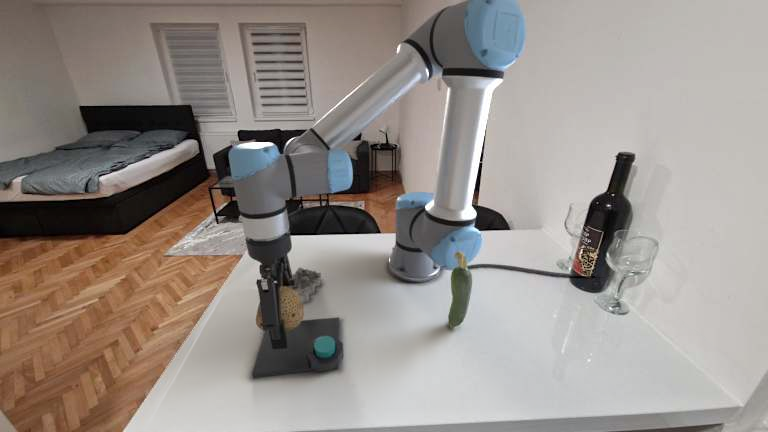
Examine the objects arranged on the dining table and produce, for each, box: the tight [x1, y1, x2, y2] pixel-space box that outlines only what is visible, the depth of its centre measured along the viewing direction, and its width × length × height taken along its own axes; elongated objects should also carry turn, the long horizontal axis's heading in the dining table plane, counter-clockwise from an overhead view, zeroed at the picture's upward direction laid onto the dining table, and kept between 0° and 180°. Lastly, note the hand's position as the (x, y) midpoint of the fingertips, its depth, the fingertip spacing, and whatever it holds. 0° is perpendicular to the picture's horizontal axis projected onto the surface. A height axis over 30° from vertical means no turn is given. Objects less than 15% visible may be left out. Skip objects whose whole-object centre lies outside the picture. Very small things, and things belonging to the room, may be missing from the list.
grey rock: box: [289, 267, 322, 303], centre depth 80 cm, size 11×8×4 cm
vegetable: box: [447, 252, 473, 329], centre depth 64 cm, size 4×4×20 cm
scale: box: [251, 316, 344, 379], centre depth 63 cm, size 17×14×3 cm
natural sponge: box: [255, 286, 305, 332], centre depth 61 cm, size 9×9×10 cm
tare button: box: [314, 336, 335, 359], centre depth 59 cm, size 4×4×2 cm
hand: (284, 328), depth 63 cm, fingers closed on natural sponge, 9 cm apart
